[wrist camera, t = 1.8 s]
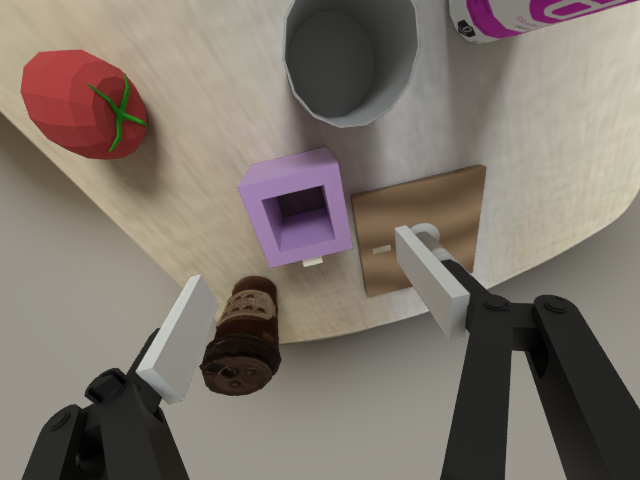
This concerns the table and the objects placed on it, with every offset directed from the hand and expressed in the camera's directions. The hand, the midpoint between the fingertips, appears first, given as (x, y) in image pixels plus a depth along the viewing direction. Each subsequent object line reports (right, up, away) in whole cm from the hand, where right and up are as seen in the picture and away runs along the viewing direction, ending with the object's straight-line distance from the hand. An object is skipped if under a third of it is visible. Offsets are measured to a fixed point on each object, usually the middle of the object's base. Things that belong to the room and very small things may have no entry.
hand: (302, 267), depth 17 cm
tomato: (-17, +14, +7) cm, 24 cm away
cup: (+2, +18, +7) cm, 20 cm away
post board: (+14, +2, +17) cm, 23 cm away
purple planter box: (-1, +8, +13) cm, 15 cm away
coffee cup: (-8, -6, +20) cm, 22 cm away
